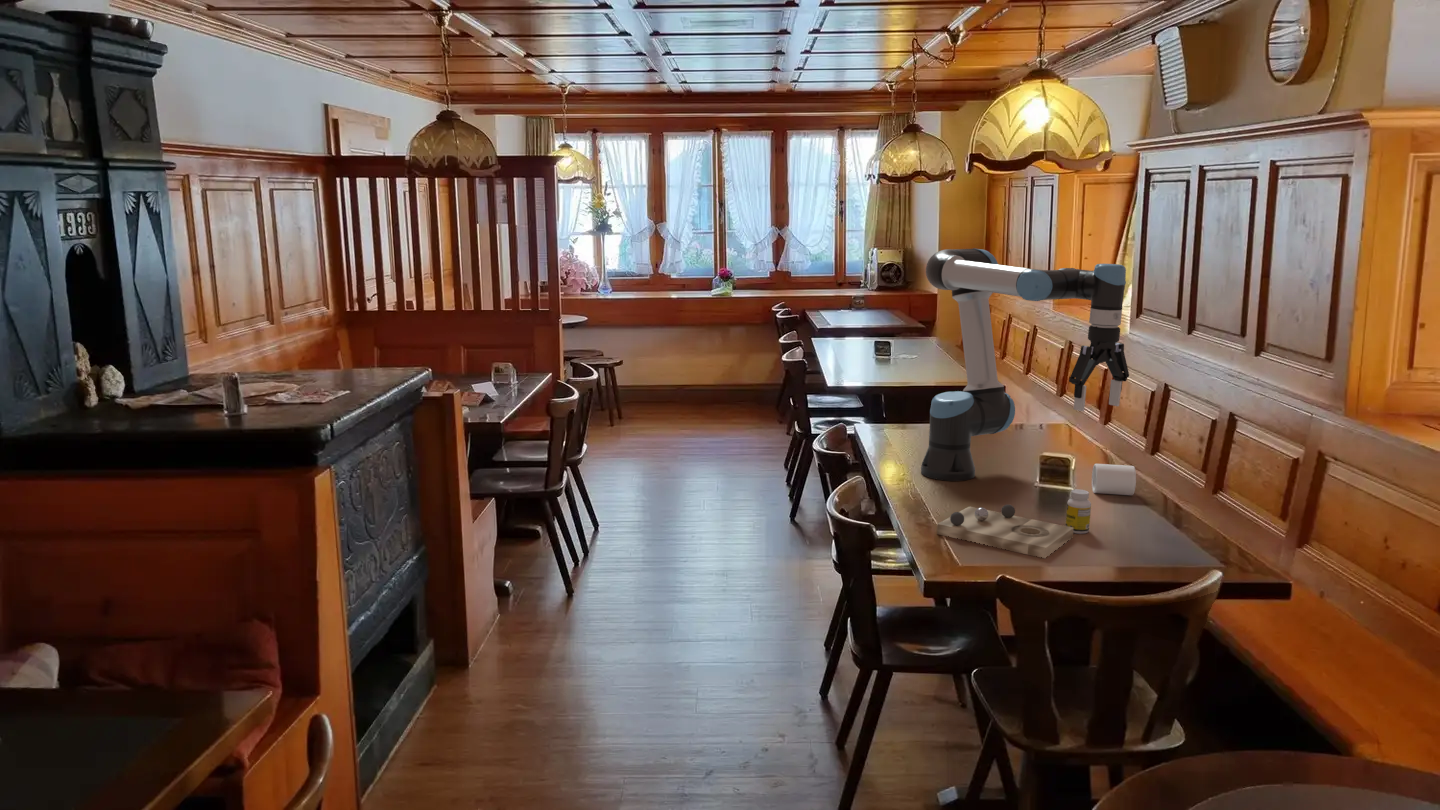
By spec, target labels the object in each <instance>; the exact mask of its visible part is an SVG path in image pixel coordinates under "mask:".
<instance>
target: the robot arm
mask: <svg viewBox="0 0 1440 810" xmlns="http://www.w3.org/2000/svg"><path fill="white" fill-rule="evenodd" d="M1126 271H1127V269H1126V267H1125V266H1124V265H1123V264H1118V263H1116V264H1115V263H1097V264H1095V265H1094V268H1093V270H1089V269H1079V268H1077V269H1076V268H1074V267H1066V268H1065V267H1063V268H1059V269H1053V270H1051V269H1036V268H1028V267H1027V268H1026V267H1021V266H1019V267H1018V266H1012V265H1005V264H1004V265H1003V264H999V263H998V261H997V259H996V257H995V256H994V254H992V253H990V251H988V250H986V249H980V248H976V247H975V248H960V249H959V248H957V249H955V248H954V249H953V248H952V249H951V248H949V249H942V250H939V251H937V252H935V253H934V254H933V255H931V256H930V258H929V259H928V261H927V263H926V266H925V275H926V278H927V281H928V282H929V283H930V285H931V286H932V287H934V288H936V289H938V290H943V291H951V297H952V299H953V300H955V301H956V302H957V304H958V311H959V319H960V328H961V329H960V330H961V337H962V339H961V340H962V347H963V354H964V355H963V356H964V362H965V373H966V380H967V385H966V386H965V387H964V388H963V390H962V391H961V390H960V391H959V390H957V391H956V390H955V391H945V392H941V393H938V394H936V395H935V396H934V397H932V400H931V403H930V404H931V405H930V409H929V430H928V431H929V432H928V433H929V435H928V446H927V450H926V453H925V455H924V456H923V457H924V458H923V460H922V463H921V465H920V466H921V467H920V473H921V475H923V476H925V477H927V478H930V479H934V480H939V481H949V482H950V481H951V482H959V481H961V482H962V481H968V480H972V479H974V478H975V476H976V475H975V473H976V467H975V463H974V459H973V454H972V452H971V441H972V440H971V439H972V438H971V437H977V436H982V435H994V434H997V433H1001V432H1003V431H1005V430H1007V429H1008V428H1009V427H1010V426H1011V424H1012V423H1013V422H1014V420H1015V415H1016V405H1015V401H1014V400H1013V398H1011V395H1010V394H1008V393H1006V392H1005V385H1004V384H1003V383H1001V382H1000V381H999V380H998V379H999V378H998V371H997V370H998V369H997V363H996V362H997V361H996V352H995V345H994V337H993V327H992V318H991V309H990V308H991V307H990V302H989V301H990V300H989V299H990V297H991V296H992V294H998V295H999V294H1000V295H1007V296H1013V297H1019V298H1022V300H1024V301H1032V302H1040V301H1047V300H1048V301H1049V300H1068V299H1070V300H1071V299H1076V300H1077V299H1079V300H1088V301H1091V302H1090V310H1089V311H1090V312H1089V321H1088V323H1089V324H1090V325H1089V326H1088V333H1087V340H1088V341H1090V344H1089V346H1088V345H1081V346H1080V351H1079V355H1078V358H1077V360H1076V362H1075V364H1074V367H1073V370H1072V371H1071V375H1070V376H1069V378H1068V382H1069V383H1071V384H1072V385H1074V393H1073V396H1074V400H1073V410H1075V411H1077V412H1078V411H1079V412H1084V411H1085V404H1086V398H1087V397H1086V396H1087V385H1085V384H1086V383H1087V381H1088V379H1089V377H1090V376H1091V374H1092V373H1093V372H1094V370H1095V368H1096V366H1099V365H1100V364H1102V363H1105V364H1106V366H1107V367H1108V370H1109V372H1110V374H1111V376H1112V378H1113V379H1110V385H1109V387H1110V388H1109V398H1108V405H1110V406H1114V407H1120V403H1121V402H1120V401H1121V393H1122V390H1123V382H1127V380H1128V378H1129V377H1130V373H1129V372H1130V371H1129V368H1128V363H1127V360H1126V354H1125V344H1124V343H1122V342H1121V343H1120V338H1121V337H1120V335H1121V328H1120V326H1121V324H1122V316H1123V314H1122V313H1123V304H1124V296H1125V289H1126V284H1127V281H1126V274H1127V272H1126Z"/></svg>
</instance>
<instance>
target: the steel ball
mask: <svg viewBox="0 0 1440 810" xmlns="http://www.w3.org/2000/svg"><path fill="white" fill-rule="evenodd" d="M977 508H978V509H976V511H975V517H976V519H977V520H979V521H984V520H986V519H987V518H988V511H987V510H988V509H986V508H985V507H977Z"/></svg>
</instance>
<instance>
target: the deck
mask: <svg viewBox="0 0 1440 810" xmlns="http://www.w3.org/2000/svg"><path fill="white" fill-rule="evenodd" d="M978 508H979V507H974V506H969V505H968V506H967V507H966V508H964V509H962V510H960V511H959V512H960V513H962V514H963V516H964V522H963V523H962V524H961V525H959V526H956V525H954V524H952V523H951V520H950V517H951V516H949V517H948V518H946V519H944V520H942V521H940V522H938V523H937V525H936V535H939V536H944V537H948V536H949V537H948V538H953V539H957V538H958V539H957V540H961V539H962V540H961V541H965V540H967V541H966V542H970V541H972V542H971V543H974V542H976V544H979V543H980V544H979V545H983V544H985V545H984V546H987V545H988V547H992V546H993V548H996V547H997V549H1001V548H1002V550H1005V549H1006V550H1005V551H1010V552H1015V553H1019V554H1024V555H1028V556H1033V557H1036V556H1037V557H1038V558H1041V557H1042V558H1041V559H1047V558H1048V557H1049V556H1051V555H1052V554H1054V553H1055V552H1056V551H1057V550H1059V549H1060V548H1061V547H1063V546H1064V545H1065V544H1066V543H1068V542H1069V541H1071V540H1072V539H1073V538H1074V533H1073V527H1068V526H1065V525H1064V524H1063V525H1062V524H1057V523H1052V522H1048V521H1043V520H1039V519H1034V518H1028V517H1024V516H1018V515H1014V516H1012V517H1011V518H1006V517H1004V516H1003V515H1002V513H1001V512H999V511H998V512H997V511H994V510H989V509H986V510H987V511H988V518H987V519H986V520H984V521H979V520H977V519H976V517H975V511H976V509H978ZM1072 537H1073V538H1072ZM1071 538H1072V539H1071ZM1068 540H1069V541H1068ZM1067 541H1068V542H1067ZM1064 543H1065V544H1064ZM1063 544H1064V545H1063ZM1059 547H1060V548H1059ZM1058 548H1059V549H1058ZM1055 550H1056V551H1055ZM1054 551H1055V552H1054ZM1051 553H1052V554H1051ZM1050 554H1051V555H1050ZM1047 556H1048V557H1047ZM1046 557H1047V558H1046Z"/></svg>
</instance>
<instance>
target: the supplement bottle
mask: <svg viewBox="0 0 1440 810" xmlns="http://www.w3.org/2000/svg"><path fill="white" fill-rule="evenodd" d="M1070 497H1071V498H1069V499H1068V500H1067V503H1066V512H1065V513H1066V514H1065V525H1064V526H1068V527H1073V534H1079V535H1083V534H1084V535H1085V534H1087V533H1089V531H1090V523H1091V511H1092V510H1091V509H1092V503H1091V501H1090V500H1089V497H1090V492H1089V491H1087V490H1085V489H1080V488H1078V489H1077V488H1075V489H1071V491H1070Z"/></svg>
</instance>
